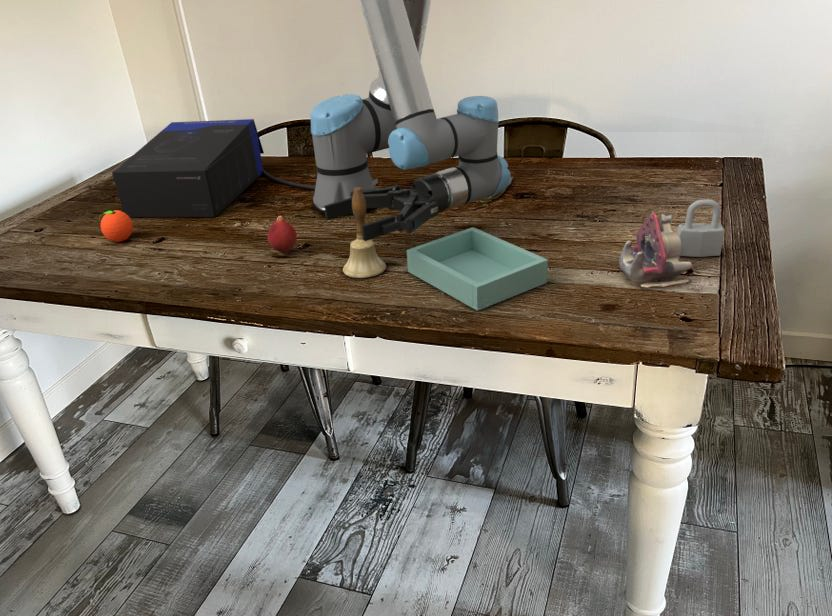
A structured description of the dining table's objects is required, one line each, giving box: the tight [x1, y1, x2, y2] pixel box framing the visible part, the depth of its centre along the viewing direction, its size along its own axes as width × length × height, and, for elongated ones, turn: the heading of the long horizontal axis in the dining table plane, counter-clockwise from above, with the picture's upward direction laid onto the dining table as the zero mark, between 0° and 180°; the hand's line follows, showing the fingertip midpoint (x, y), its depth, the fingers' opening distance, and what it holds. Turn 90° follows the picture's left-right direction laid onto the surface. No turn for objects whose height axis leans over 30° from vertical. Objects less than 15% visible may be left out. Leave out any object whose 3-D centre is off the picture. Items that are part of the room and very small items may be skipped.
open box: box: [406, 226, 549, 312], centre depth 133 cm, size 20×15×4 cm
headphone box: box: [111, 118, 265, 218], centre depth 188 cm, size 25×35×14 cm
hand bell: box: [342, 187, 387, 279], centre depth 138 cm, size 8×8×16 cm
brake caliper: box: [618, 211, 693, 289], centre depth 126 cm, size 11×11×12 cm
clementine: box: [98, 209, 134, 243], centre depth 166 cm, size 8×7×7 cm
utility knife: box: [479, 176, 514, 203], centre depth 170 cm, size 16×1×3 cm
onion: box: [267, 215, 298, 255], centre depth 150 cm, size 6×6×8 cm
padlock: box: [676, 198, 725, 258], centre depth 130 cm, size 7×4×10 cm, turn 78°
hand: (343, 222), depth 135 cm, fingers open, 13 cm apart
